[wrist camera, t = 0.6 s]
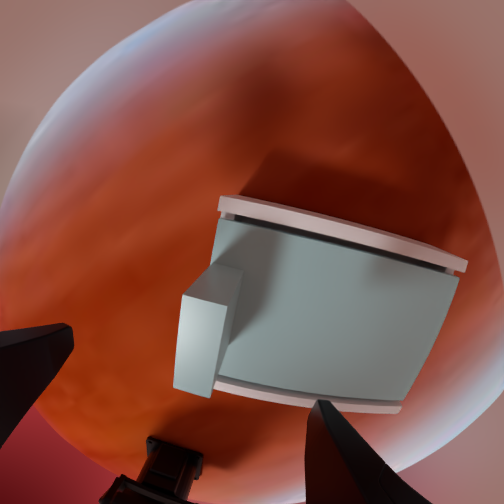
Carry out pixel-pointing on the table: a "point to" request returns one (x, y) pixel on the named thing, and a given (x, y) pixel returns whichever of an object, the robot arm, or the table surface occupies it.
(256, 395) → the parts tub
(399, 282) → the lid
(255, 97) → the table surface
